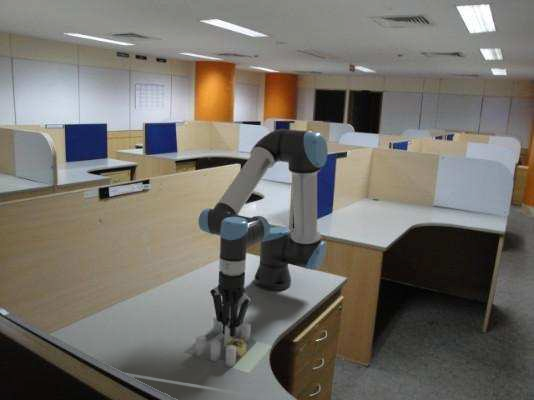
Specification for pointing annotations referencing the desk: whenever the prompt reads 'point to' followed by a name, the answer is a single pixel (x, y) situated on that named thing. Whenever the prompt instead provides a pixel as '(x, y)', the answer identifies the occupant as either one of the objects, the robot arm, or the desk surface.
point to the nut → (238, 346)
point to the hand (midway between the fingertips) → (228, 344)
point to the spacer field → (229, 348)
